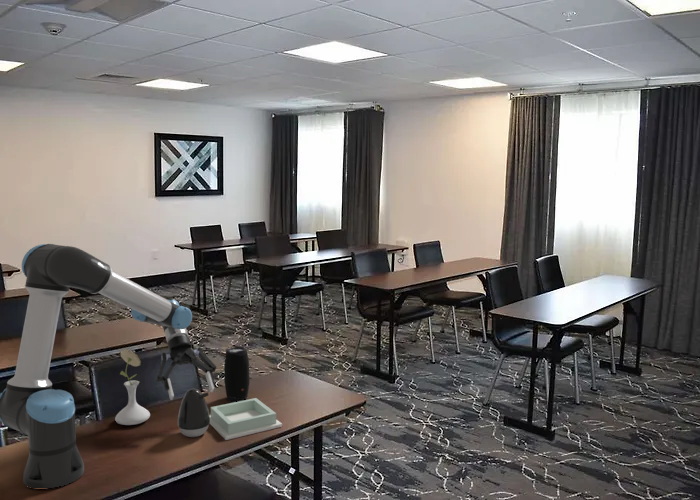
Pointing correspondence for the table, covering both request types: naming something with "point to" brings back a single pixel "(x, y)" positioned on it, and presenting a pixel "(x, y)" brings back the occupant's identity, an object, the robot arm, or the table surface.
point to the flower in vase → (131, 395)
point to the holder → (243, 418)
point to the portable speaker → (236, 373)
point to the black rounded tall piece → (193, 414)
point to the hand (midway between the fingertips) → (192, 394)
